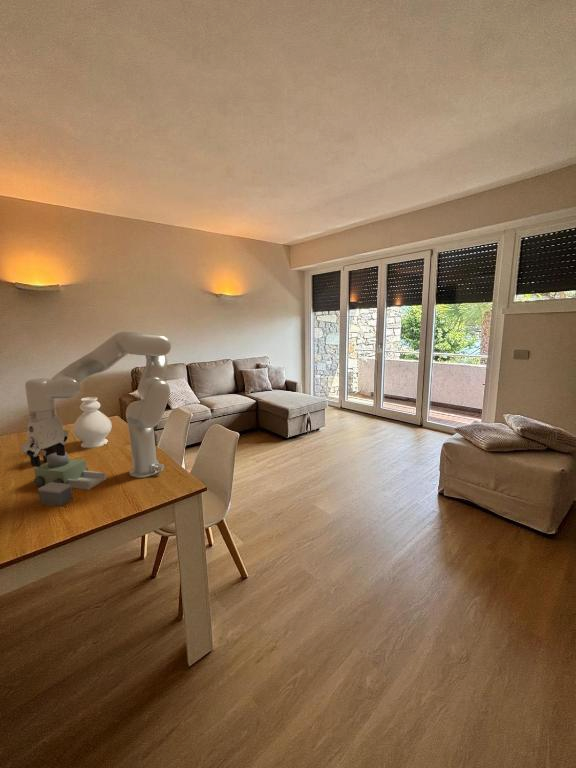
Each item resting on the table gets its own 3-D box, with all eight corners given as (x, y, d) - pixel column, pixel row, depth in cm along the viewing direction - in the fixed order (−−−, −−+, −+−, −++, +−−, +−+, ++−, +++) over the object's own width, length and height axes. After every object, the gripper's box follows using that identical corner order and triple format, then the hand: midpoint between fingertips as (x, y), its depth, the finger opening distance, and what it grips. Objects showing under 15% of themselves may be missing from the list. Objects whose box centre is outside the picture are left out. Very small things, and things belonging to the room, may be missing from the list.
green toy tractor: (109, 476, 139) (107, 452, 137) (84, 492, 126) (80, 465, 124) (62, 471, 144) (59, 447, 142) (33, 486, 131) (29, 460, 129)
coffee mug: (66, 460, 156) (63, 440, 154) (44, 466, 149) (40, 445, 148) (58, 453, 163) (56, 434, 161) (37, 459, 157) (34, 439, 155)
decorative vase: (96, 451, 166) (90, 403, 162) (66, 448, 170) (60, 401, 165) (120, 438, 183) (116, 395, 179) (93, 436, 187) (88, 394, 182)
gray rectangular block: (72, 499, 122) (70, 484, 121) (61, 506, 117) (58, 491, 116) (52, 496, 124) (50, 482, 123) (40, 503, 119) (37, 488, 118)
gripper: (27, 422, 105) (34, 472, 108) (73, 408, 121) (78, 452, 124) (8, 420, 106) (16, 469, 109) (56, 407, 123) (61, 450, 126)
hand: (49, 460), depth 117 cm, fingers open, 9 cm apart
